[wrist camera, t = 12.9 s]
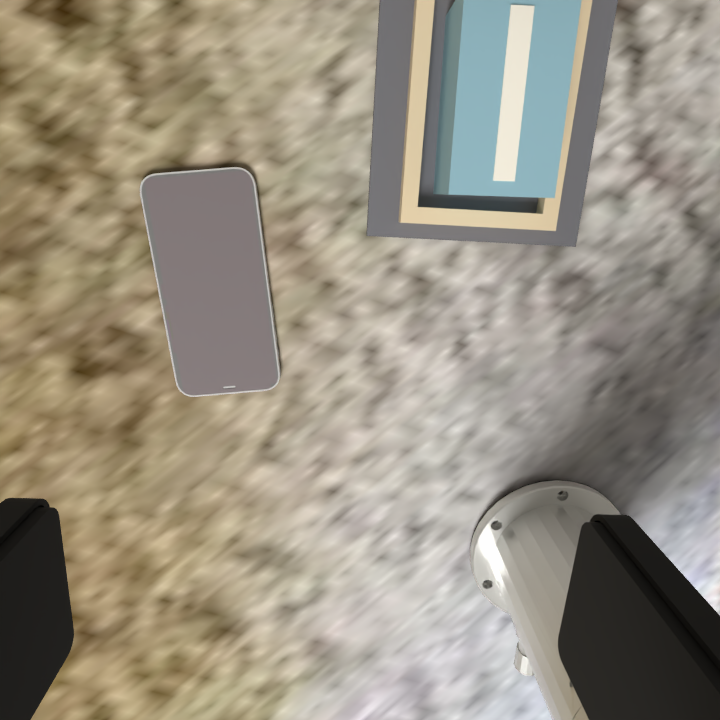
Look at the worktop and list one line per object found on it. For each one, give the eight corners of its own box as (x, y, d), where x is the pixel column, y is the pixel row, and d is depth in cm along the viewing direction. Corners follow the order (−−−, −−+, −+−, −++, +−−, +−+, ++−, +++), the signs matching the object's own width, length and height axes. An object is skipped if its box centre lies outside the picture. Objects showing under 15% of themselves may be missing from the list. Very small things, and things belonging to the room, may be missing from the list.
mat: (572, 245, 36) (583, 248, 35) (366, 235, 35) (367, 237, 34) (619, -31, 31) (634, -43, 30) (382, -50, 31) (385, -64, 29)
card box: (445, 15, 31) (465, -17, 26) (546, 21, 32) (583, -11, 27) (433, 194, 34) (448, 194, 29) (525, 197, 35) (555, 198, 30)
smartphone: (253, 165, 34) (282, 389, 38) (256, 166, 34) (283, 385, 39) (135, 174, 33) (178, 398, 38) (140, 175, 34) (181, 393, 39)
